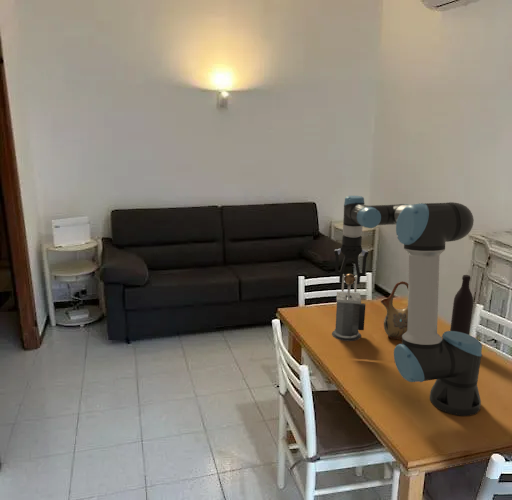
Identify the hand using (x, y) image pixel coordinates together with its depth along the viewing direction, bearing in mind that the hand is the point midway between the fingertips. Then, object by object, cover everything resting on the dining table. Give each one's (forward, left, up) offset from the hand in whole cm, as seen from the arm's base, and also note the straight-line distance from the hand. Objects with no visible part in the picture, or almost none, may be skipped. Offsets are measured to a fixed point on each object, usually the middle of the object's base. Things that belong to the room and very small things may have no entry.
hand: (348, 290), depth 201 cm
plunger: (0, 0, -17) cm, 17 cm away
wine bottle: (-2, -44, -20) cm, 49 cm away
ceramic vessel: (+2, -21, -20) cm, 29 cm away
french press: (0, 0, -19) cm, 19 cm away
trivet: (0, 0, -20) cm, 20 cm away
